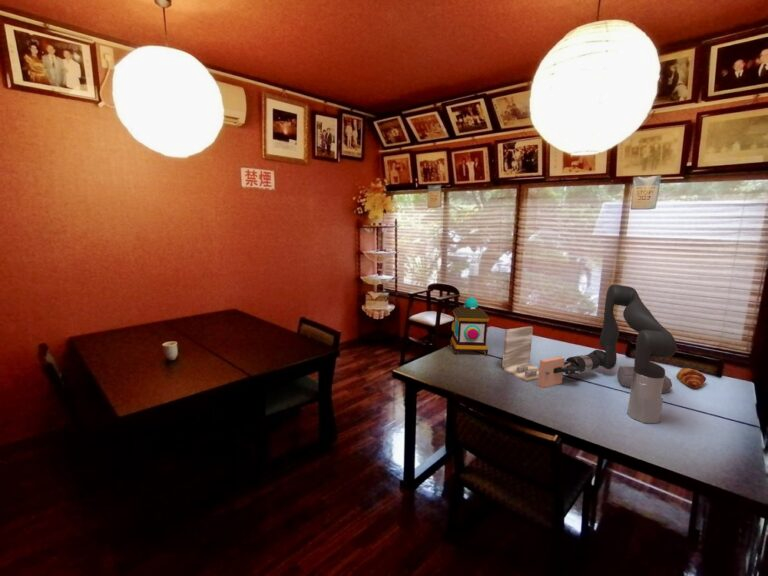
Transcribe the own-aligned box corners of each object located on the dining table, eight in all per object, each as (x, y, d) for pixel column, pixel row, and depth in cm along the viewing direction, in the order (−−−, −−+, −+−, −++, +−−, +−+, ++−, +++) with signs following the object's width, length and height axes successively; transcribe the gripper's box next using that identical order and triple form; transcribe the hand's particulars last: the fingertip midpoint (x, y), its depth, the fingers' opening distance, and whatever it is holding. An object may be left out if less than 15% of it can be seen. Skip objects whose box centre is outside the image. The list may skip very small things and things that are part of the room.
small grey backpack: (620, 389, 162) (675, 398, 155) (622, 371, 161) (679, 379, 153) (614, 375, 176) (665, 384, 168) (616, 359, 174) (668, 366, 167)
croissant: (677, 379, 181) (670, 364, 182) (702, 374, 176) (695, 358, 177) (685, 395, 163) (677, 378, 164) (713, 390, 158) (705, 373, 159)
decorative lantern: (490, 357, 197) (495, 301, 191) (453, 356, 197) (456, 300, 191) (481, 344, 216) (485, 293, 211) (447, 343, 217) (450, 293, 211)
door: (563, 384, 165) (566, 358, 163) (543, 389, 161) (546, 362, 158) (557, 381, 168) (560, 356, 166) (537, 385, 164) (540, 359, 161)
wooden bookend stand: (551, 376, 173) (556, 335, 170) (525, 382, 167) (529, 339, 163) (527, 364, 187) (530, 326, 184) (502, 369, 181) (505, 329, 177)
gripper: (567, 351, 176) (539, 356, 169) (593, 361, 164) (565, 367, 157) (565, 366, 177) (538, 371, 171) (591, 377, 165) (563, 384, 158)
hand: (551, 369), depth 164 cm, fingers closed on door, 2 cm apart
